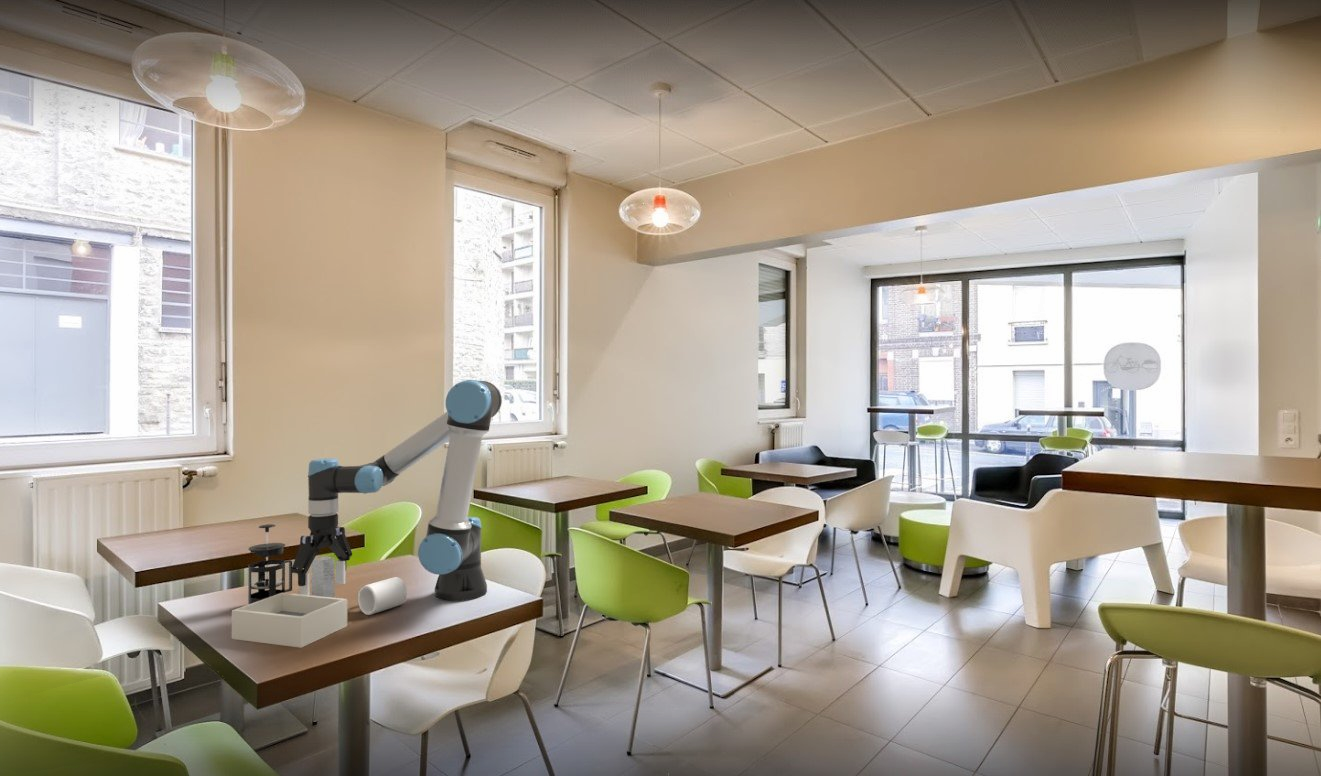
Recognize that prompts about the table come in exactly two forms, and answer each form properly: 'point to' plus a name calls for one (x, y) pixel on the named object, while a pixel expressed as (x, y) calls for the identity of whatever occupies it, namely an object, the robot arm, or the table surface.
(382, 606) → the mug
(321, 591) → the peg
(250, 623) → the box
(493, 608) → the table surface
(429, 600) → the table surface
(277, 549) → the french press
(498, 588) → the table surface
